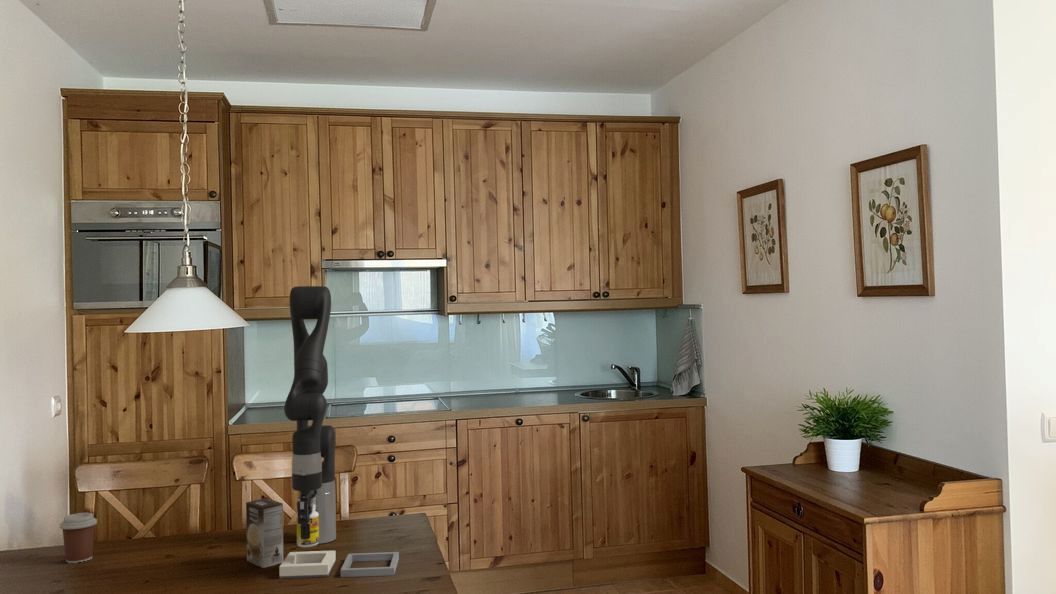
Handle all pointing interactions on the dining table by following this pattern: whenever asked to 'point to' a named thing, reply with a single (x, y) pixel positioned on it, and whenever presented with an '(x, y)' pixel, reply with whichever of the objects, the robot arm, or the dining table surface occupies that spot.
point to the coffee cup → (78, 536)
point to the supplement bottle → (313, 531)
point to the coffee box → (264, 532)
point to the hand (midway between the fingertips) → (307, 535)
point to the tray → (372, 571)
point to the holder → (307, 564)
